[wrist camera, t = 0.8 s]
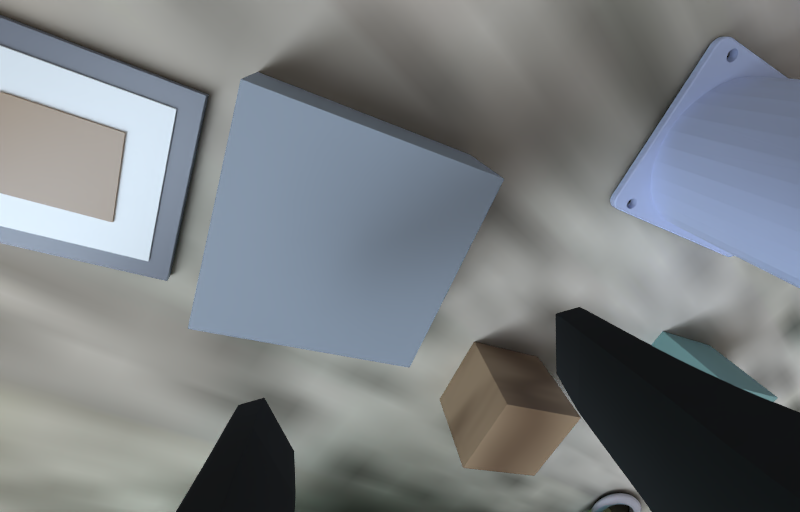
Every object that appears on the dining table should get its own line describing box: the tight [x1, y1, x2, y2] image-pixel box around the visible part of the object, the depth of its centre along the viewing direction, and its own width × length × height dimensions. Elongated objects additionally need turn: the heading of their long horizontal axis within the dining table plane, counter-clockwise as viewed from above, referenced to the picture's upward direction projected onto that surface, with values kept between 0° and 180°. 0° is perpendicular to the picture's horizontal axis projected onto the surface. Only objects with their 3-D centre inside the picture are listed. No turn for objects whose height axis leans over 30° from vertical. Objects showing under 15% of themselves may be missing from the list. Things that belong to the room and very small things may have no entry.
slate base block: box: [188, 72, 504, 367], centre depth 16 cm, size 9×9×4 cm
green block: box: [652, 331, 777, 402], centre depth 25 cm, size 5×5×5 cm
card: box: [0, 15, 208, 281], centre depth 14 cm, size 8×8×1 cm
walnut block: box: [440, 342, 581, 476], centre depth 22 cm, size 5×5×5 cm
